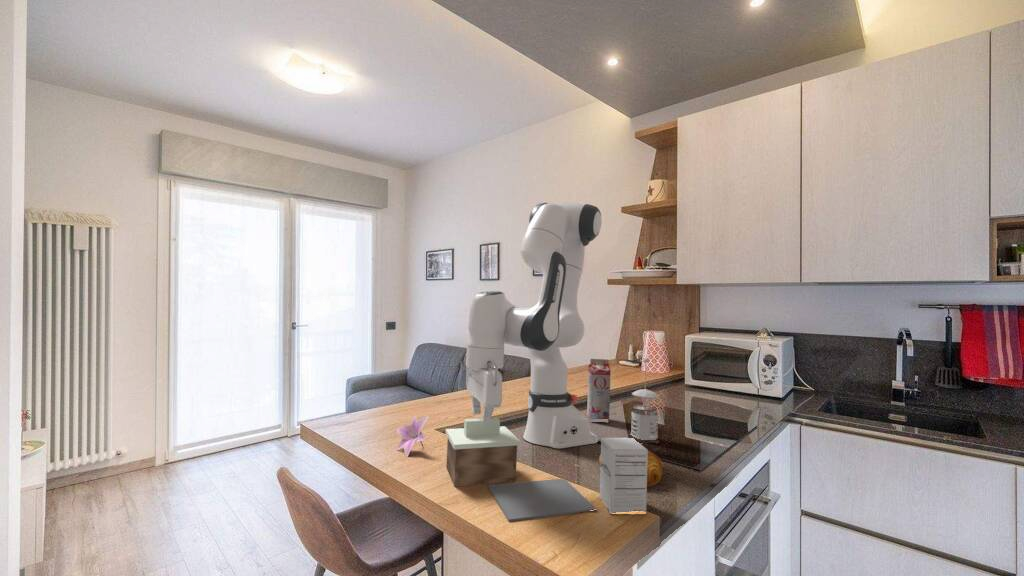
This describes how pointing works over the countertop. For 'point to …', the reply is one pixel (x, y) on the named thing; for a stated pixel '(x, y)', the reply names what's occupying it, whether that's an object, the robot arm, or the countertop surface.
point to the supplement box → (623, 474)
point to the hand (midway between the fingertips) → (480, 418)
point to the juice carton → (598, 389)
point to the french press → (643, 423)
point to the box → (481, 464)
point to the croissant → (651, 469)
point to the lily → (411, 434)
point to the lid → (481, 435)
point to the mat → (539, 499)
